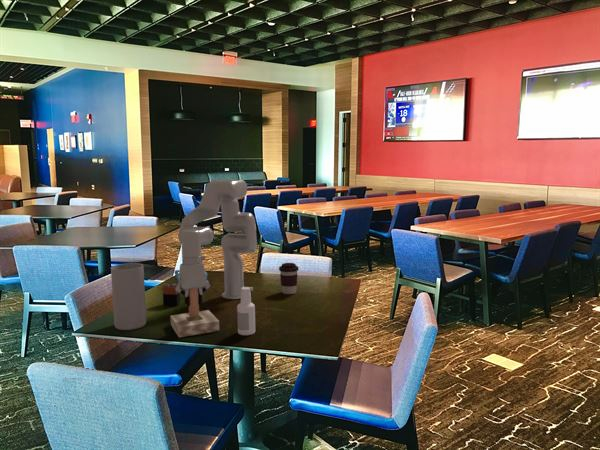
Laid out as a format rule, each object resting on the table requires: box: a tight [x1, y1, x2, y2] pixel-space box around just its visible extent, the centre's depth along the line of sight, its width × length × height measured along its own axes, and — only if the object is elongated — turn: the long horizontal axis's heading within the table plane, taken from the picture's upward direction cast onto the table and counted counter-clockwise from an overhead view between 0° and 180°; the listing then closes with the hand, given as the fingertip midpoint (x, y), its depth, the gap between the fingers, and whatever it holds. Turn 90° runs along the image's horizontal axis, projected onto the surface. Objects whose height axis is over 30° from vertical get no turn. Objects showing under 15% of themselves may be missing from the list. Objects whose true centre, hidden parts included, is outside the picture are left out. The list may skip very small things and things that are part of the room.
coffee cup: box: [278, 262, 299, 295], centre depth 243 cm, size 10×10×15 cm
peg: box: [188, 287, 200, 316], centre depth 192 cm, size 4×4×12 cm
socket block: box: [170, 309, 220, 338], centre depth 193 cm, size 16×16×4 cm
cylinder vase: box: [110, 262, 147, 331], centre depth 195 cm, size 12×12×25 cm
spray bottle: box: [236, 286, 256, 336], centre depth 186 cm, size 7×7×18 cm
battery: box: [162, 283, 181, 307], centre depth 225 cm, size 4×7×10 cm, turn 81°
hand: (193, 304), depth 192 cm, fingers closed on peg, 4 cm apart
